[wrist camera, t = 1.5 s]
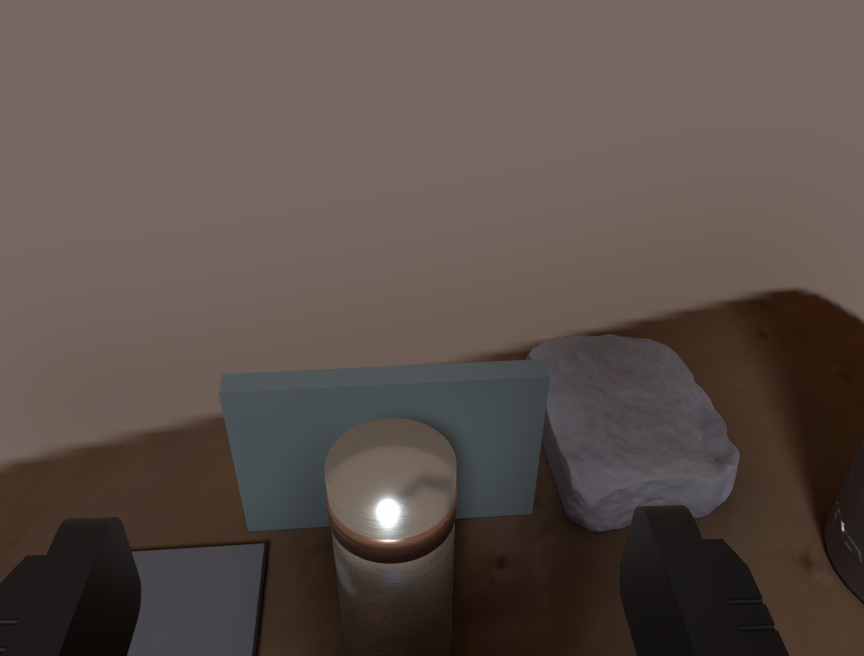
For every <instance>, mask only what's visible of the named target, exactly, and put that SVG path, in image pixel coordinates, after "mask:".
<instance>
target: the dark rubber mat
mask: <svg viewBox="0 0 864 656" xmlns="http://www.w3.org/2000/svg"><path fill="white" fill-rule="evenodd" d="M132 555H133V558H134V561H135V564H136V567H137V570H138V573H139V577H140V582H141V606H140V612H139V617H138V621H137V624H136V628H135V631H134V634H133V638H132V641H131V644H130V648H129V651H128V654H127V656H256V647H257V638H258V628H259V619H260V610H261V601H262V591H263V582H264V573H265V564H266V549H265V544H264V543H263V544H247V545H231V546H215V547H199V548H183V549H167V550H151V551H135V552H132Z"/></svg>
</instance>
